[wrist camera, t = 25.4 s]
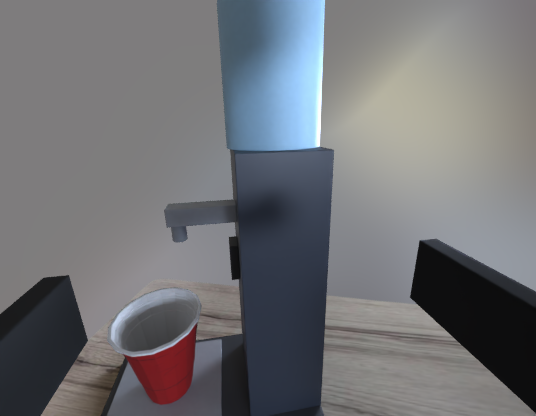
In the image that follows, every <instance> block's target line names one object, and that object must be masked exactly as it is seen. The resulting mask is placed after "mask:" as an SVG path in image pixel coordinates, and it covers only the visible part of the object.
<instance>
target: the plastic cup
mask: <svg viewBox="0 0 536 416" xmlns="http://www.w3.org/2000/svg"><path fill="white" fill-rule="evenodd" d="M200 311H201V303H200V300H199V298H198V296H197V295H196V294H194V293H193V292H192V291H190V290H188V289H183V288H177V287H174V288H164V289H159V290H156V291H153V292H150V293H147V294H144V295H142V296H141V297H139V298H137V299H135V300H133V301H132V302H130V303H129V304H127V305H126V306H125V307H124V308H123V309H122V310H121V311H120V312H119V313H117V314H116V316H115V318H114V319H113V321H112V322H111V324H110V326H109V327H108V339H107V341H108V342H109V343H110V345H111V346H112V347H113V349H114V350H115V351H116V352H117V353H120V354H123V355H124V356H125V357H126V358H127V360H128V362H129V364H130V366H131V367H132V369H133V371H134V373H135V375H136V376H137V378H138V380H139V382H140V383H141V384H142V386H143V388H144V390H145V392H146V393H147V395H148V396H149V398H150V399H151V400H152V401H153V402H154V403H157V404H160V405H164V404H170V403H173V402H175V401H177V400H179V399H180V398H181V397H182V396H183V395H184V394H186V392H187V391H188V389H189V387H190V386H191V382H192V377H193V368H194V360H195V346H196V329H197V322H198V320H199V315H200Z"/></svg>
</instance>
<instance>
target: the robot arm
mask: <svg viewBox="0 0 536 416" xmlns="http://www.w3.org/2000/svg"><path fill="white" fill-rule="evenodd" d="M410 298H411V299H412V300H414V301H415V302H416V303H417V304H418V305H419V306H420V307H421V308H422V309H423V310H424V311H425V312H426V313H428V314H429V315H430V316H431V317H432V318H433V319H434V320H435V321H436V322H437V323H438V324H440V325H441V326H442V327H443V328H444V329H445V330H446V331H447V332H448V333H449V334H450V335H451V336H453V337H454V338H455V339H456V340H457V341H458V342H459V343H460V344H461V345H462V346H463V347H465V348H466V349H467V350H468V351H469V352H470V353H471V354H472V355H473V356H474V357H475V358H476V359H478V360H479V361H480V362H481V363H482V364H483V365H484V366H485V367H486V368H487V369H488V370H490V371H491V372H492V373H493V374H494V375H495V376H496V377H497V378H498V379H499V380H500V381H501V382H503V383H504V384H505V385H506V386H507V387H508V388H509V389H510V390H511V391H512V392H513V393H515V394H516V395H517V396H518V397H519V398H520V399H521V400H522V401H523V402H524V403H525V404H526V405H528V406H529V407H530V408H531V409H532V410H533V411H534V412H535V413H536V292H535V291H533V290H532V289H530V288H528V287H526V286H524V285H522V284H520V283H518V282H516V281H515V280H513V279H511V278H509V277H507V276H505V275H503V274H501V273H499V272H497V271H496V270H494V269H492V268H490V267H488V266H486V265H484V264H483V263H481V262H479V261H477V260H475V259H473V258H471V257H469V256H467V255H466V254H464V253H462V252H460V251H458V250H456V249H454V248H453V247H451V246H449V245H447V244H445V243H443V242H441V241H439V240H438V239H430V240H420V242H419V248H418V254H417V260H416V265H415V272H414V277H413V283H412V290H411V295H410ZM87 341H88V339H87V336H86V333H85V329H84V325H83V322H82V319H81V315H80V312H79V308H78V305H77V302H76V298H75V295H74V291H73V288H72V285H71V281H70V278H69V275H67V276H57V277H47V278H43V279H42V280H40V281H39V282H38V283H37V284H36V285H34V286H33V287H32V288H31V289H30V290H29V291H27V292H26V293H25V294H24V295H23V296H21V297H20V298H19V299H18V300H17V301H16V302H14V303H13V304H12V305H11V306H10V307H8V308H7V309H6V310H5V311H4V312H2V313H1V314H0V416H40V415H41V414H42V412H43V411H44V409H45V407H46V406H47V404H48V403H49V401H50V400H51V398H52V396H53V395H54V393H55V392H56V390H57V389H58V387H59V385H60V384H61V382H62V381H63V379H64V377H65V376H66V374H67V373H68V371H69V370H70V368H71V366H72V365H73V363H74V362H75V360H76V358H77V357H78V355H79V354H80V352H81V351H82V349H83V347H84V346H85V344H86V343H87Z"/></svg>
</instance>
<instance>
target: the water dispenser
mask: <svg viewBox="0 0 536 416" xmlns="http://www.w3.org/2000/svg"><path fill="white" fill-rule="evenodd" d="M324 9H325V0H217V11H218V27H219V40H220V55H221V70H222V84H223V98H224V113H225V126H226V141H227V148H228V149H230V152H231V167H232V182H233V199H234V200H220V201H206V202H191V203H178V204H177V203H176V204H168V206H167V207H166V209H165V210H164V212H165V219H166V225H167V228H168V227H171V231H172V238H173V241H174V242H183V241H185V240H187V231H186V226H193V225H205V224H217V223H230V222H235V229H236V236H235V237H229V245H230V260H231V273H232V280H235V279H239V290H240V305H241V320H242V334H238V335H231V336H225V337H218V338H211V339H204V340H198V341H196V346H195V360H194V368H193V377H192V382H191V386H190V387H189V389H188V391H187V392H186V394H184V395H183V396H182V397H181V398H180V399H179V400H177V401H175V402H173V403H170V404H164V405H160V404H157V403H154V402H153V401H152V400H151V399H150V398H149V396H148V395H147V393H146V392H145V390H144V388H143V386H142V384H141V383H140V382H139V380H138V378H137V376H136V375H135V373H134V371H133V369H132V367H131V366H130V364H129V362H128V360H127V358H126V357H125V359H124V361H123V364H122V366H121V369H120V371H119V373H118V376H117V378H116V381H115V383H114V385H113V388H112V390H111V393H110V395H109V397H108V400H107V402H106V405H105V407H104V410H103V412H102V414H101V416H324V414H323V411H322V408H321V388H322V369H323V350H324V331H325V312H326V292H327V274H328V254H329V236H330V216H331V197H332V196H331V195H332V179H333V160H334V150H332V149H327V148H323V147H319V146H320V121H321V119H320V118H321V93H322V65H323V36H324Z"/></svg>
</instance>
